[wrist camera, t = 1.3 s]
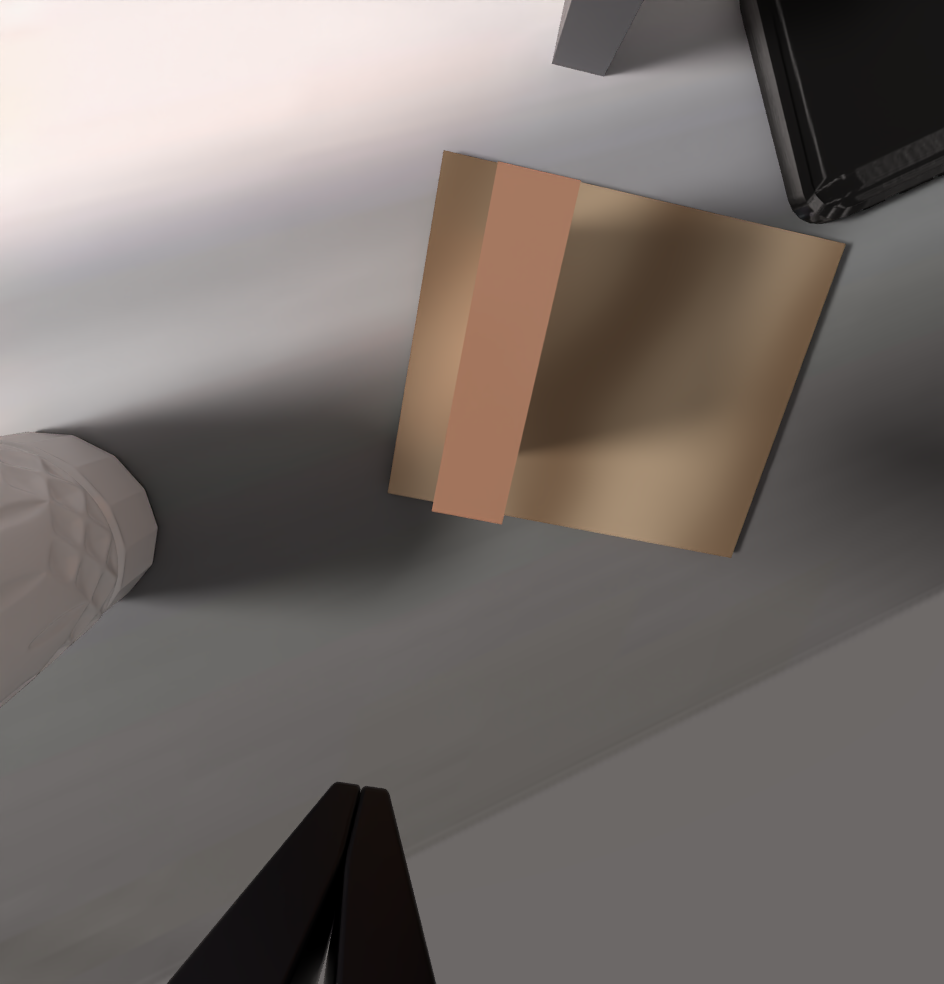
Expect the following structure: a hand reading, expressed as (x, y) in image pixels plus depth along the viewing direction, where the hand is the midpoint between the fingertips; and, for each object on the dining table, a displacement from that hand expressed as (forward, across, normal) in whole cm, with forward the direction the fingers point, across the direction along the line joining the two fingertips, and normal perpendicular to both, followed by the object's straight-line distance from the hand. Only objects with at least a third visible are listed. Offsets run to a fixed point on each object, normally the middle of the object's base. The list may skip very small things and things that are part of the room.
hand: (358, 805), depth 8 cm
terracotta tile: (+12, -1, -7) cm, 14 cm away
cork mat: (+12, -5, -7) cm, 15 cm away
